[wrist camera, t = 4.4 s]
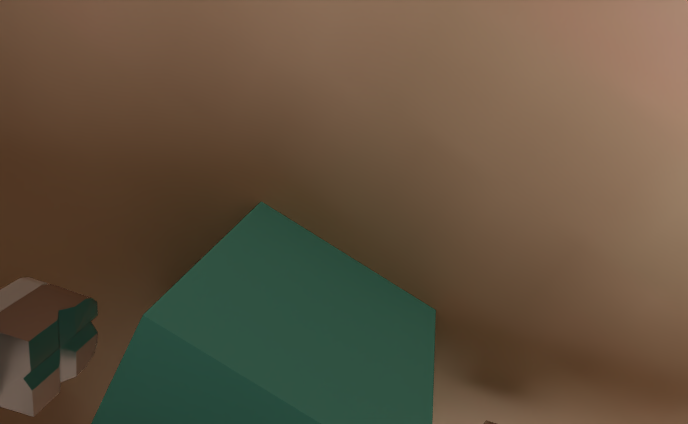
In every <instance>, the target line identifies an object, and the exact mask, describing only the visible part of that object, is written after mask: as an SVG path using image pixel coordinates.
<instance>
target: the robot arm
mask: <svg viewBox="0 0 688 424" xmlns="http://www.w3.org/2000/svg"><path fill="white" fill-rule="evenodd" d="M97 315H98V310H97V301H95V300H94V299H93V298H91V297H88V296H85V295H82V294H79V293H76V292H73V291H70V290H67V289H64V288H61V287H59V286H56V285H53V284H48V283H45V282H42V281H39V280H36V279H33V278H31V277H25V278H19V279H18V280H16V281H14V282H12V283H11V284H9V285H7V286H6V287H4V288H2V289H0V407H3V408H6V409H9V410H13V411H16V412H19V413H22V414H26V415H29V416H32V417H34V416H35V415H36V414H38V413H39V412H40V411H41V410H42V409H43V408H44V407H45V406H46V405H47V404H48V403H49V402H50V401H51V400H52V399H53V398H54V397H55V396H57V395H58V394H59V393H60V388H61V382H63V381H65V380H68V379H71V378H74V377H76V376H77V375H78V374H79V373H80V372H81V371H82V370H84V369H85V368H86V367H87V365H88V363H89V362H90V360H91V358H92V356H93V355H94V353H95V349H96V346H97V340H98V332H97V331H96V329H95V327H94V326H93V324H92V322H91V321H92V320H93V319H94V318H95V317H96V316H97ZM484 424H496V423H493V422H490V421H485V423H484Z"/></svg>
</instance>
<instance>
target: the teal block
mask: <svg viewBox="0 0 688 424" xmlns="http://www.w3.org/2000/svg"><path fill="white" fill-rule="evenodd" d="M435 318H436V310H435V309H433V308H432V307H430V306H428V305H427V304H425V303H423V302H422V301H420V300H419V299H417V298H415V297H414V296H412V295H411V294H409V293H407V292H406V291H404V290H403V289H401V288H399V287H398V286H396V285H395V284H393V283H391V282H390V281H388V280H387V279H385V278H383V277H382V276H380V275H379V274H377V273H375V272H374V271H372V270H371V269H369V268H367V267H366V266H364V265H363V264H361V263H359V262H358V261H356V260H354V259H353V258H351V257H350V256H348V255H346V254H345V253H343V252H342V251H340V250H338V249H337V248H335V247H334V246H332V245H330V244H329V243H327V242H326V241H324V240H322V239H321V238H319V237H318V236H316V235H314V234H313V233H311V232H310V231H308V230H306V229H305V228H303V227H302V226H300V225H298V224H297V223H295V222H294V221H292V220H290V219H289V218H287V217H285V216H284V215H282V214H281V213H279V212H277V211H276V210H274V209H273V208H271V207H269V206H268V205H266V204H265V203H263V202H260V203H259V204H258V205H257V206H256V207H255V208H254V209H253V210H252V211H251V212H250V213H249V214H247V215H246V216H245V217H244V218H243V219H242V220H241V221H240V222H239V223H238V224H237V225H236V226H235V227H234V228H233V229H232V230H231V231H230V232H229V233H228V234H227V235H226V236H225V237H224V238H223V239H221V240H220V241H219V242H218V243H217V244H216V245H215V246H214V247H213V248H212V249H211V250H210V251H209V252H208V253H207V254H206V255H205V256H204V257H203V258H202V259H201V260H200V261H199V262H198V263H197V264H195V265H194V266H193V267H192V268H191V269H190V270H189V271H188V272H187V273H186V274H185V275H184V276H183V277H182V278H181V279H180V280H179V281H178V282H177V283H176V284H175V285H174V286H173V287H172V288H170V289H169V290H168V291H167V292H166V293H165V294H164V295H163V296H162V297H161V298H160V299H159V300H158V301H157V302H156V303H155V304H154V305H153V306H152V307H151V308H150V309H149V310H148V311H147V312H146V313H144V314H143V316H142V318H141V320H140V322H139V324H138V326H137V329H136V331H135V333H134V335H133V337H132V339H131V341H130V343H129V345H128V347H127V350H126V352H125V354H124V356H123V358H122V360H121V362H120V364H119V366H118V368H117V371H116V373H115V375H114V377H113V379H112V381H111V383H110V385H109V387H108V389H107V392H106V394H105V396H104V398H103V400H102V402H101V404H100V406H99V408H98V410H97V413H96V415H95V417H94V419H93V421H92V423H91V424H432V417H433V384H434V351H435Z"/></svg>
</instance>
